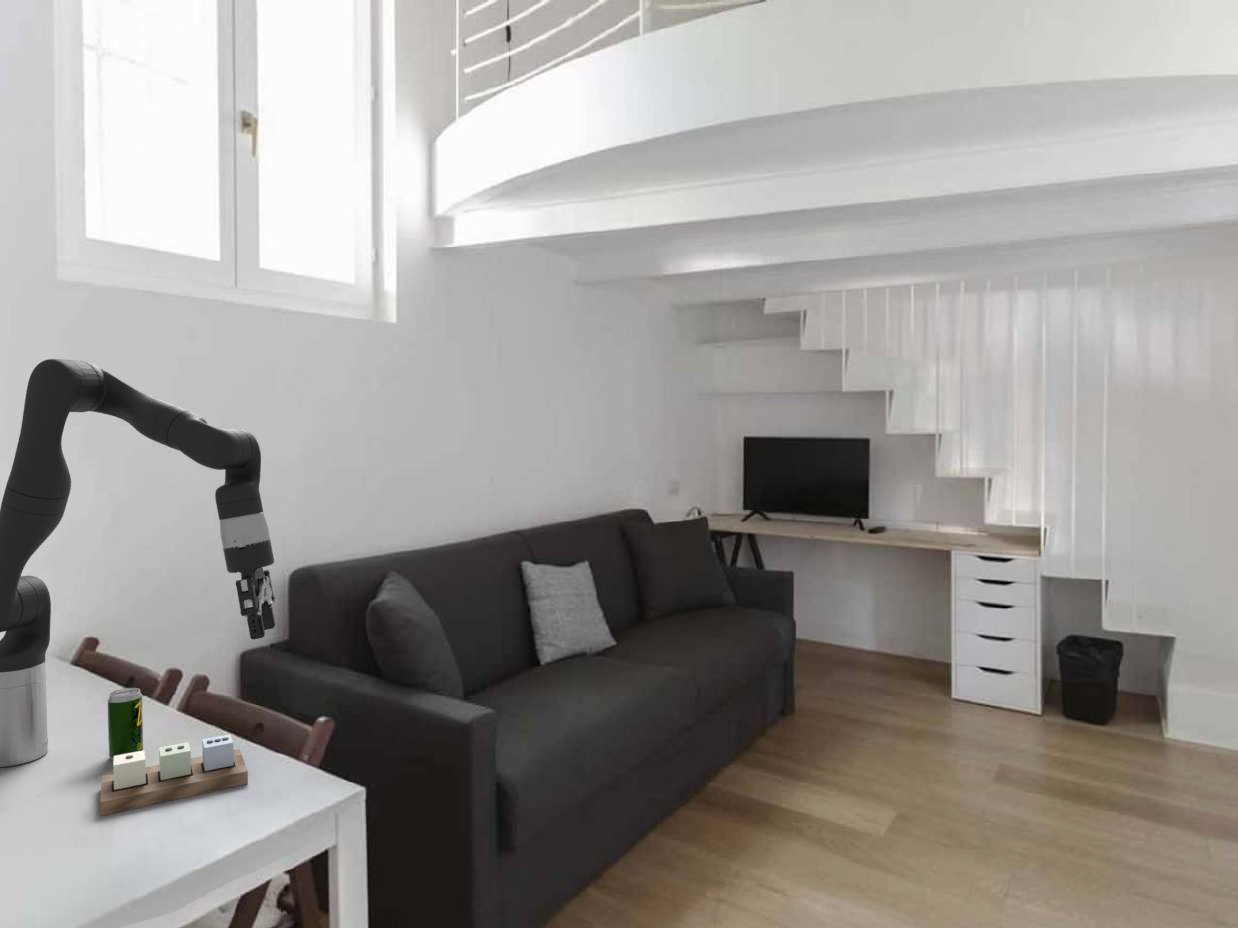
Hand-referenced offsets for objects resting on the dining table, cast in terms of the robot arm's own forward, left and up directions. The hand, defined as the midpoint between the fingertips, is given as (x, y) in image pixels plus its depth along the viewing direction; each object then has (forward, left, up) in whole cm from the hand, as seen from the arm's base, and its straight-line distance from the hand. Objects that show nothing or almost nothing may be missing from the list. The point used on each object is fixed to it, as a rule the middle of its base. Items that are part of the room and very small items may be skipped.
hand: (263, 633), depth 135 cm
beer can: (-21, +23, -25) cm, 40 cm away
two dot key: (-14, +4, -23) cm, 27 cm away
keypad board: (-14, +4, -25) cm, 29 cm away
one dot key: (-20, +4, -23) cm, 31 cm away
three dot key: (-7, +4, -23) cm, 24 cm away
